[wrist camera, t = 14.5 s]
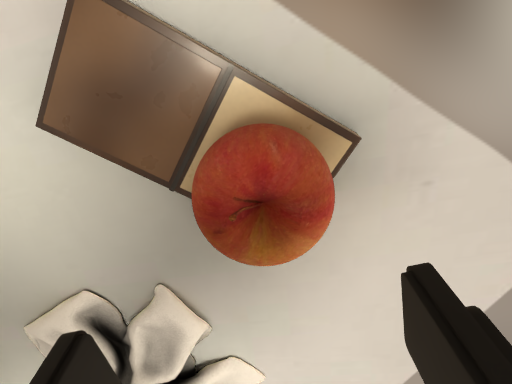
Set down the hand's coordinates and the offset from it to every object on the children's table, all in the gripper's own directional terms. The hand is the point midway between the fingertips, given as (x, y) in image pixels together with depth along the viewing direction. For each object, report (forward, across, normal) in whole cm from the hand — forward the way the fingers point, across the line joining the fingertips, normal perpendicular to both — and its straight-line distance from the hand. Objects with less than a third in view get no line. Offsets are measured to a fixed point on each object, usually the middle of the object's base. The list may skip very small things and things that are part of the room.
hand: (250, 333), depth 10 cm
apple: (+13, -1, 0) cm, 13 cm away
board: (+14, +2, -3) cm, 15 cm away
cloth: (+15, +14, +17) cm, 27 cm away
